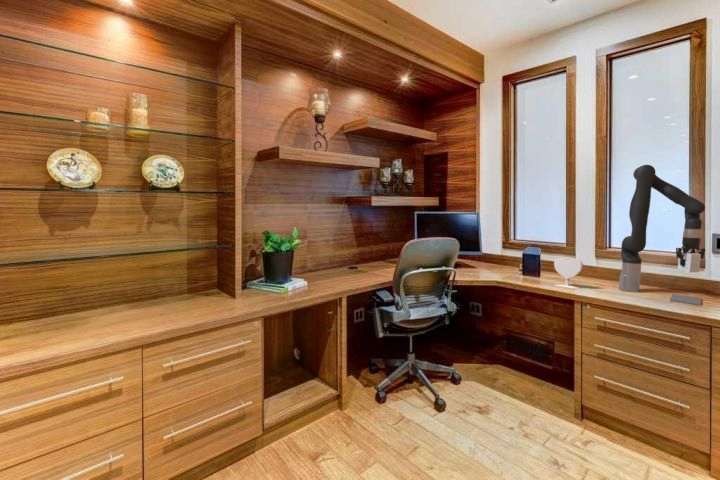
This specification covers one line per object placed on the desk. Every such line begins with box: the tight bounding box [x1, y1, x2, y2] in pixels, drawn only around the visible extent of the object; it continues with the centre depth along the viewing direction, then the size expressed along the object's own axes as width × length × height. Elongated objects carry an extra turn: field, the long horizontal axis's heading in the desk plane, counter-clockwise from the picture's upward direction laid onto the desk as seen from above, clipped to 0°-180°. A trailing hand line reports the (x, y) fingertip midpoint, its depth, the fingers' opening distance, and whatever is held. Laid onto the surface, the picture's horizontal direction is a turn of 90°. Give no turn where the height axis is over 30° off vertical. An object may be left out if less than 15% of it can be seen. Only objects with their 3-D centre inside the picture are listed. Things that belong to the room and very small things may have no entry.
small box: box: [677, 253, 702, 273], centre depth 203 cm, size 8×6×10 cm
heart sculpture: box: [553, 257, 584, 289], centre depth 226 cm, size 16×5×18 cm, turn 42°
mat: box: [669, 293, 702, 306], centre depth 194 cm, size 18×12×1 cm, turn 136°
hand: (688, 265), depth 203 cm, fingers closed on small box, 6 cm apart
